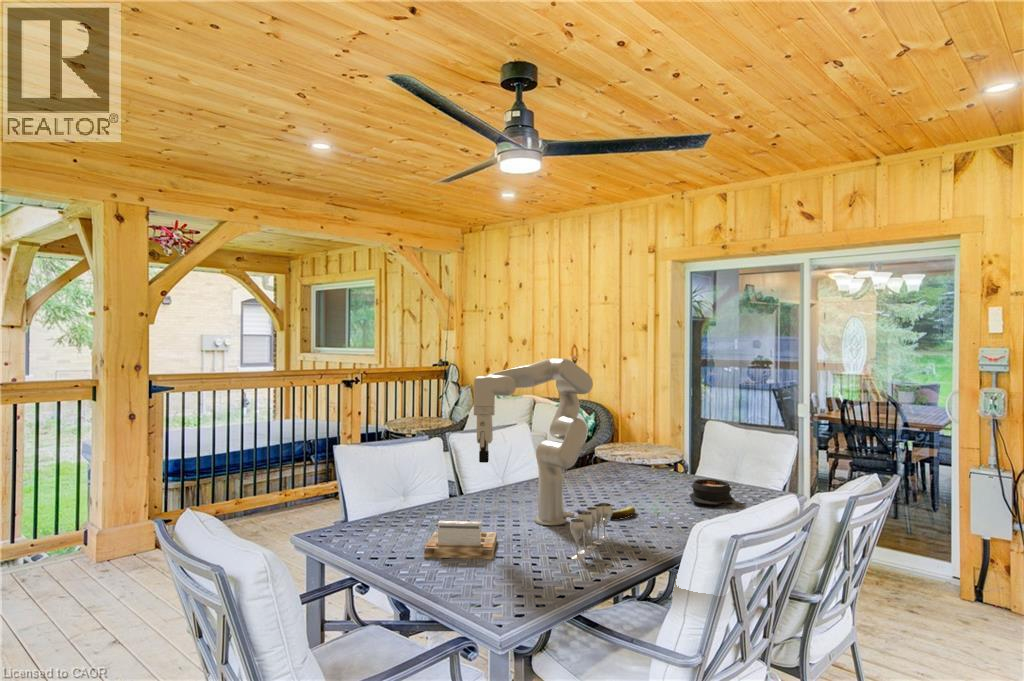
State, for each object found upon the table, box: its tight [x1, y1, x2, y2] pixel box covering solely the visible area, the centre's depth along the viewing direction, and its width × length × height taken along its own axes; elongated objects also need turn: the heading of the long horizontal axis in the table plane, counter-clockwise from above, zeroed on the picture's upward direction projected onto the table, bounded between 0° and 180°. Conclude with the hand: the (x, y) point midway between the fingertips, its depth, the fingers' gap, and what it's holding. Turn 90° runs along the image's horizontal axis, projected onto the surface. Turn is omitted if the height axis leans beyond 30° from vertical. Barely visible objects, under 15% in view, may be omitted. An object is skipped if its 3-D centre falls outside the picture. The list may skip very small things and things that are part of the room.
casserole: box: [689, 478, 734, 506], centre depth 263 cm, size 25×19×8 cm
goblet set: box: [569, 502, 614, 561], centre depth 202 cm, size 28×6×13 cm, turn 148°
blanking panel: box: [437, 520, 482, 548], centre depth 194 cm, size 14×3×10 cm, turn 86°
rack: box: [423, 530, 498, 560], centre depth 200 cm, size 22×18×3 cm
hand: (483, 461), depth 212 cm, fingers closed
